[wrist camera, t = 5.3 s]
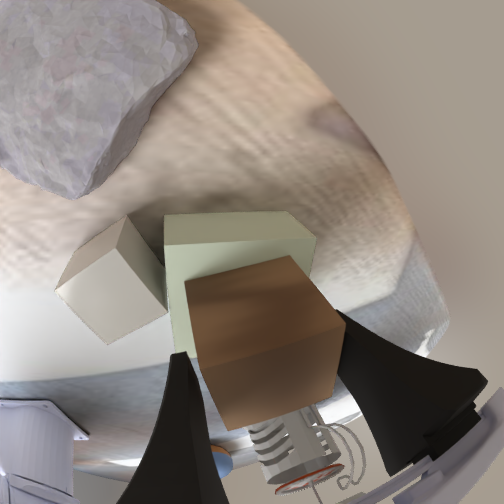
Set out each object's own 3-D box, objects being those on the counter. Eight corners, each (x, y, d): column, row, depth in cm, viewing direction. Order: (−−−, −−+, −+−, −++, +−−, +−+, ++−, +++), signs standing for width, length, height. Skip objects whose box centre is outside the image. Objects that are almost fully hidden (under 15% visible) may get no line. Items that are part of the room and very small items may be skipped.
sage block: (171, 314, 18) (176, 359, 14) (164, 213, 15) (163, 245, 11) (272, 304, 20) (293, 343, 16) (285, 209, 16) (317, 237, 13)
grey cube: (114, 299, 16) (107, 344, 12) (74, 251, 14) (54, 290, 10) (165, 269, 16) (168, 312, 12) (127, 214, 14) (115, 248, 10)
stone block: (113, 190, 15) (214, 41, 11) (84, 235, 11) (215, 24, 7) (-17, 114, 9) (54, -28, 5) (-64, 137, 5) (11, -45, 1)
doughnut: (237, 438, 28) (243, 470, 24) (223, 461, 33) (228, 486, 29) (154, 436, 26) (155, 469, 22) (157, 459, 30) (158, 485, 26)
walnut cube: (207, 353, 15) (227, 431, 10) (184, 281, 12) (199, 369, 8) (291, 329, 16) (331, 396, 11) (289, 255, 13) (346, 323, 9)
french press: (220, 430, 26) (291, 613, 5) (272, 369, 23) (396, 605, 2) (287, 428, 31) (362, 577, 10) (344, 373, 27) (454, 544, 6)
